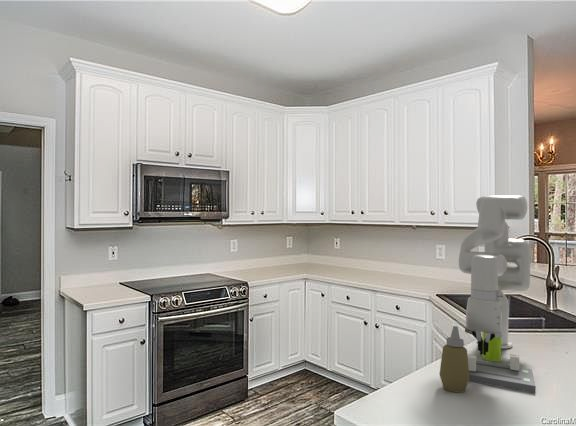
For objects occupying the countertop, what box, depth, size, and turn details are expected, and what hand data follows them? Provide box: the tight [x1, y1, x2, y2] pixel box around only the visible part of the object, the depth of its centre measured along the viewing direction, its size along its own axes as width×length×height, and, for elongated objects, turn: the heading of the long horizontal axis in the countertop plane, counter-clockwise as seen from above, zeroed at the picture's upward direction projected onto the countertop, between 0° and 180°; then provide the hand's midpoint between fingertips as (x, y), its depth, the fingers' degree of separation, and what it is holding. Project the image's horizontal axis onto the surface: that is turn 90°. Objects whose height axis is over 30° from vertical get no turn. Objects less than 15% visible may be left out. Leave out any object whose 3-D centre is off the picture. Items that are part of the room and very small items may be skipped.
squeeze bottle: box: [439, 325, 470, 393], centre depth 122 cm, size 8×8×18 cm
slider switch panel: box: [468, 359, 537, 394], centre depth 132 cm, size 16×22×2 cm
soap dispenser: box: [482, 332, 502, 362], centre depth 151 cm, size 6×7×20 cm
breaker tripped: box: [467, 354, 477, 372], centre depth 131 cm, size 3×2×4 cm
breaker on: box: [509, 353, 520, 371], centre depth 133 cm, size 3×2×4 cm
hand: (483, 353), depth 131 cm, fingers closed
